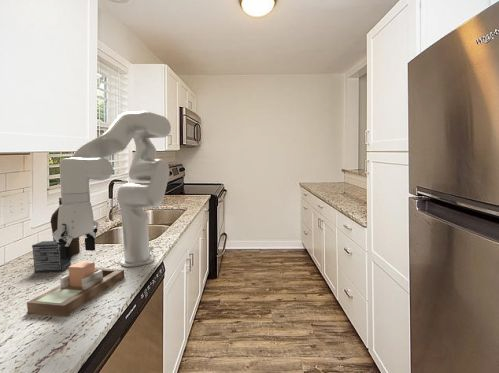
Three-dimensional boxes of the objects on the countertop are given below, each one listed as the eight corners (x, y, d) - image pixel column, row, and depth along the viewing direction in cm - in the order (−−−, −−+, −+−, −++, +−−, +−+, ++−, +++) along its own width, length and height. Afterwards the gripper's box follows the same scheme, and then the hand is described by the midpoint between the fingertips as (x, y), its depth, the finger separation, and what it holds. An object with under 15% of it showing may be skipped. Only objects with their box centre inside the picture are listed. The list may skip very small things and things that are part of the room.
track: (94, 276, 109) (93, 259, 108) (124, 278, 107) (123, 261, 106) (27, 312, 84) (25, 291, 83) (65, 316, 81) (63, 294, 81)
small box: (72, 265, 121) (70, 239, 120) (62, 271, 114) (60, 244, 113) (44, 266, 120) (42, 240, 119) (33, 272, 114) (31, 245, 113)
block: (82, 279, 99) (80, 261, 98) (95, 280, 98) (94, 261, 97) (70, 285, 94) (68, 266, 93) (84, 286, 93) (82, 267, 92)
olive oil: (77, 255, 133) (73, 198, 131) (49, 258, 130) (44, 199, 128) (83, 248, 143) (79, 195, 141) (58, 251, 141) (53, 196, 138)
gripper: (85, 196, 102) (88, 246, 103) (40, 202, 85) (44, 262, 86) (105, 196, 101) (108, 247, 102) (63, 202, 84) (67, 264, 85)
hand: (79, 254), depth 94 cm, fingers open, 9 cm apart
